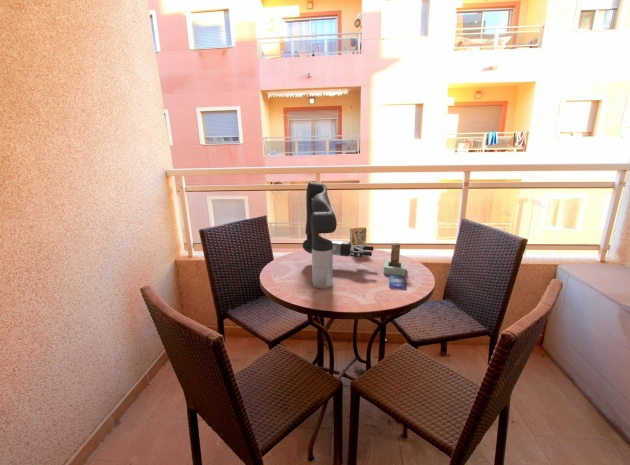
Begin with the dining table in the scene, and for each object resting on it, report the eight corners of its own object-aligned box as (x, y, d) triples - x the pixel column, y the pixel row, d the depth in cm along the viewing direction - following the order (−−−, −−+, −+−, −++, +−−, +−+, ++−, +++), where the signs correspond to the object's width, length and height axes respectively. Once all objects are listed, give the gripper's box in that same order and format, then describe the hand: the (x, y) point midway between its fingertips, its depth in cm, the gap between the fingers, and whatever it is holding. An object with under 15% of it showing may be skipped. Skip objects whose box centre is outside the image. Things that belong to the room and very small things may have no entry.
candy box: (363, 250, 179) (363, 226, 175) (365, 252, 175) (366, 227, 171) (349, 251, 177) (349, 227, 173) (351, 253, 173) (352, 228, 169)
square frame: (404, 276, 140) (405, 269, 140) (383, 273, 143) (383, 267, 142) (404, 268, 150) (405, 262, 149) (384, 266, 152) (384, 260, 152)
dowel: (398, 273, 144) (400, 246, 140) (389, 272, 145) (391, 245, 142) (398, 270, 148) (400, 243, 144) (390, 269, 149) (391, 243, 145)
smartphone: (405, 275, 140) (406, 289, 126) (404, 277, 140) (406, 291, 126) (389, 274, 141) (389, 287, 127) (389, 275, 142) (389, 289, 128)
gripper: (338, 245, 144) (371, 248, 139) (343, 238, 157) (374, 240, 153) (338, 260, 146) (371, 263, 141) (343, 251, 159) (373, 253, 154)
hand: (372, 251), depth 147 cm, fingers open, 8 cm apart
